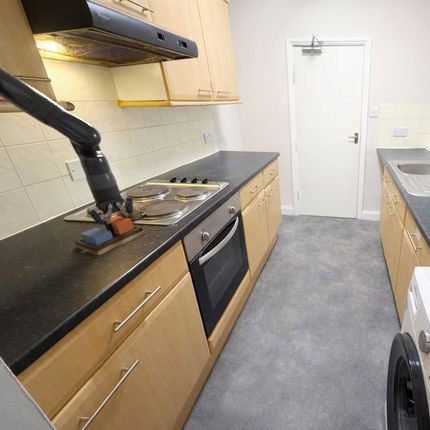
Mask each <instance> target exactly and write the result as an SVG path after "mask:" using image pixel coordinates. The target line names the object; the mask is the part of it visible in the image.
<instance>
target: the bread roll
mask: <svg viewBox="0 0 430 430" xmlns="http://www.w3.org/2000/svg"><path fill="white" fill-rule="evenodd" d="M132 203H133V213H131V214H129V218H130V219H131V220H133V221H137V220H140V219H142V218H141V214H142V213H144V212H146V211H147V210H148V209H147V208H146V206H144V205H143V204H141V203H138V202H132ZM122 207H123V208H124V209H125V210H126V208H125V204H122ZM147 212H148V211H147ZM116 216H121V217H122V215H121V214H120V213H119V212H118V211H117V213H116Z"/></svg>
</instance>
